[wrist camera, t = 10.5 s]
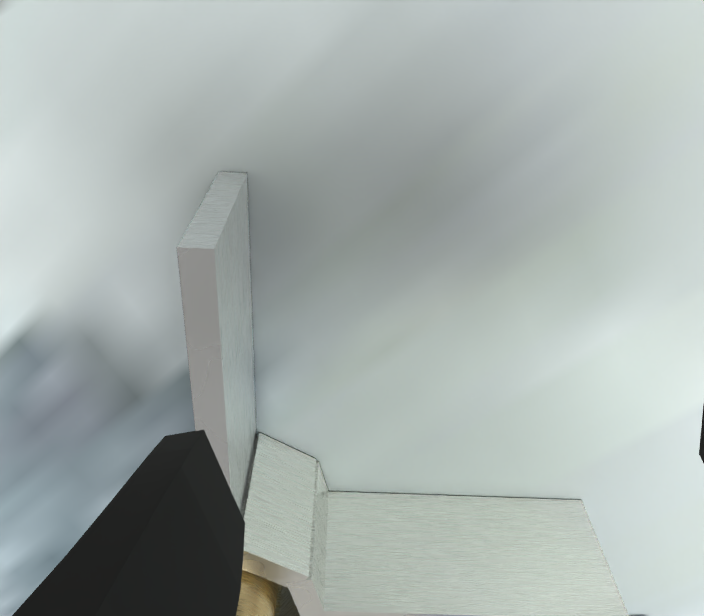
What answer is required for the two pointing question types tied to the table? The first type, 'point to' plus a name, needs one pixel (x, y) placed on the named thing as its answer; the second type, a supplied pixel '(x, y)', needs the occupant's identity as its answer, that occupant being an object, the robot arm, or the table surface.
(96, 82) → the table surface
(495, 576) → the steel hinge
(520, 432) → the table surface
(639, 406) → the table surface
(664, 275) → the table surface
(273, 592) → the hinge pin
